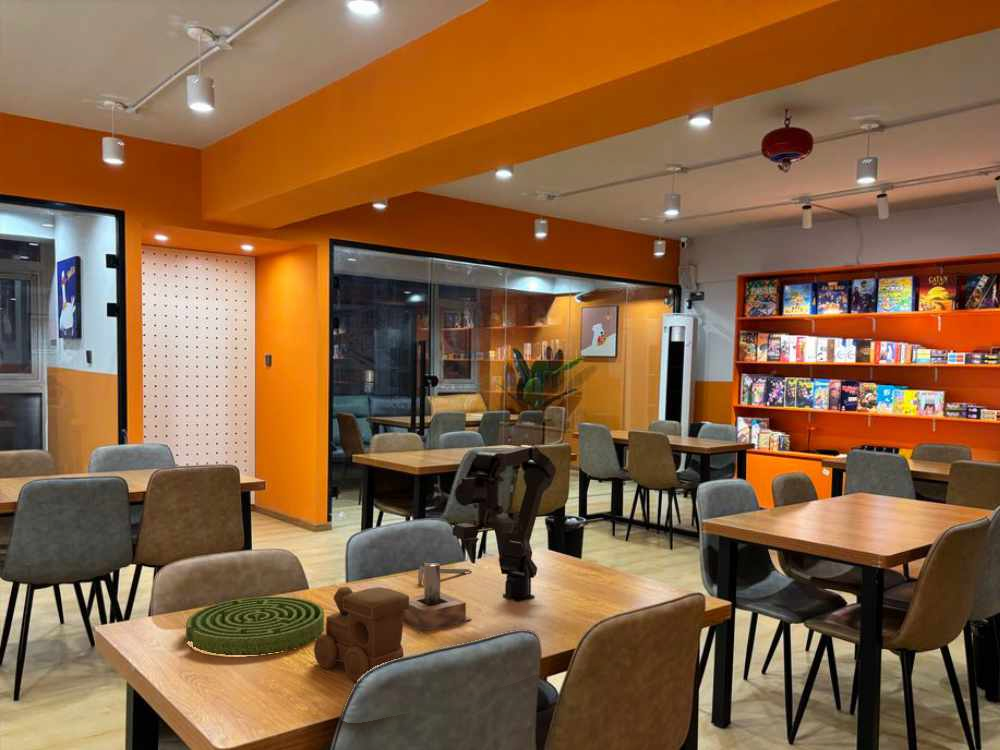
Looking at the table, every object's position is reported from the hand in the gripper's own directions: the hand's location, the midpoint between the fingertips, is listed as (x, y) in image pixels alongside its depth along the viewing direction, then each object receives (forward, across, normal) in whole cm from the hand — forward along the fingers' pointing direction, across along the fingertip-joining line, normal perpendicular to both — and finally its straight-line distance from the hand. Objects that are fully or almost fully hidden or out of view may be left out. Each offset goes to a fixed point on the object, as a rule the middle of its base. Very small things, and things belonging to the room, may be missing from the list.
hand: (487, 560), depth 203 cm
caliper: (+13, +9, +32) cm, 36 cm away
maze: (+14, -54, +19) cm, 59 cm away
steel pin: (+12, -15, +3) cm, 20 cm away
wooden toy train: (+13, -45, -15) cm, 49 cm away
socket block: (+13, -15, +3) cm, 20 cm away
